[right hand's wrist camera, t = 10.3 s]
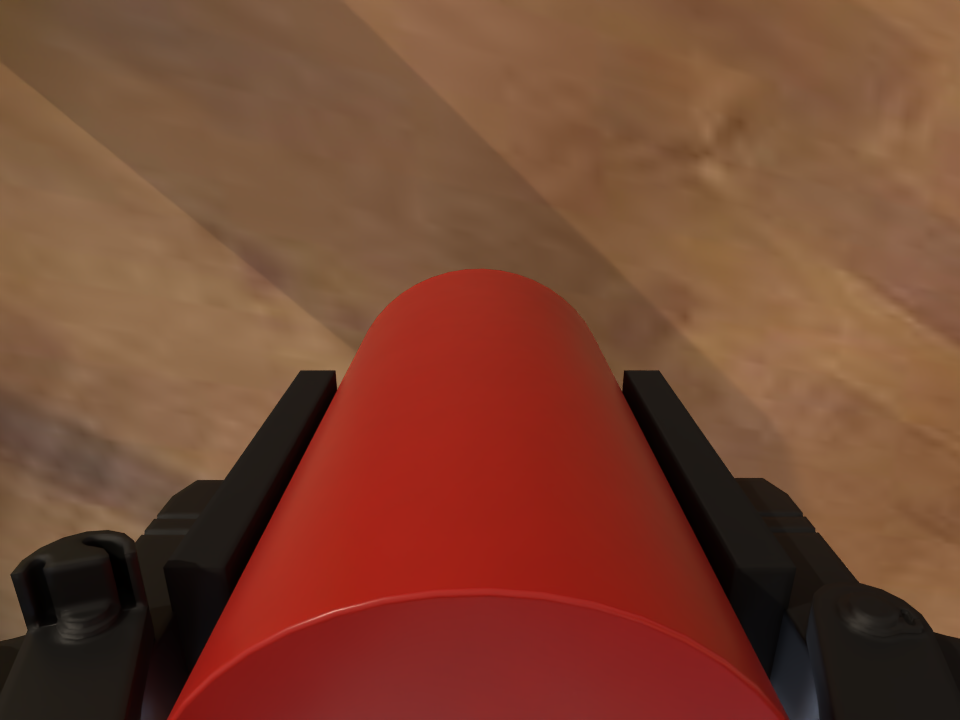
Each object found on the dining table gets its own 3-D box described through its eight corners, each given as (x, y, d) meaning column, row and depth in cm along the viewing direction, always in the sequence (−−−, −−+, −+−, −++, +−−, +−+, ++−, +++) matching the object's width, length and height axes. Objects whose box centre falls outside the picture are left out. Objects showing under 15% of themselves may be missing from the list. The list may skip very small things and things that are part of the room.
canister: (622, 472, 17) (836, 1010, 7) (393, 519, 18) (273, 1085, 7) (580, 240, 15) (800, 518, 5) (320, 301, 15) (6, 672, 5)
